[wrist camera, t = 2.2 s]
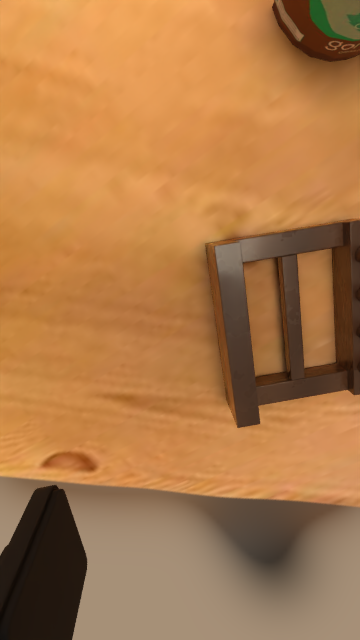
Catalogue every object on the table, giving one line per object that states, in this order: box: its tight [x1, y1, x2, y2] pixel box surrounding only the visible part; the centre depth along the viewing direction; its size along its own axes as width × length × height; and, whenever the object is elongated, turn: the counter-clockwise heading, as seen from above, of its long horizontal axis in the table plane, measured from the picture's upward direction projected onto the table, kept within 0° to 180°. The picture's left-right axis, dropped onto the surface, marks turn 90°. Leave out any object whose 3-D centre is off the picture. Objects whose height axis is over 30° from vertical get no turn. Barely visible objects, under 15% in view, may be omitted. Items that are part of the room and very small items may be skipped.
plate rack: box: [205, 219, 360, 428], centre depth 25 cm, size 12×14×8 cm
